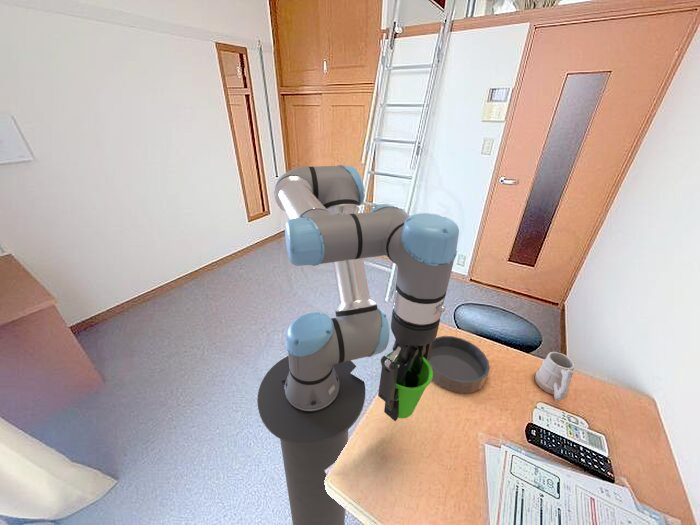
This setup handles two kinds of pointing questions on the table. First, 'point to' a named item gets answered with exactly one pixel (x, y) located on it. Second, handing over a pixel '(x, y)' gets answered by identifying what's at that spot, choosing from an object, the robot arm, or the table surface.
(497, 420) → the table surface
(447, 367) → the pan
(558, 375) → the mug
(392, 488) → the table surface
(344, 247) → the robot arm
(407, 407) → the cup
